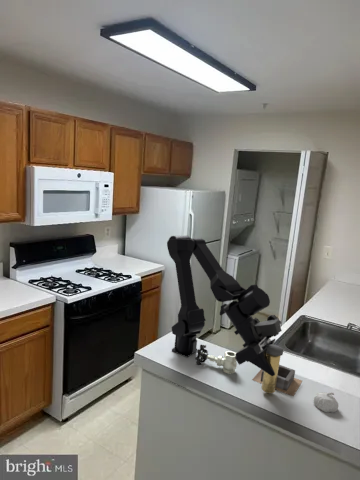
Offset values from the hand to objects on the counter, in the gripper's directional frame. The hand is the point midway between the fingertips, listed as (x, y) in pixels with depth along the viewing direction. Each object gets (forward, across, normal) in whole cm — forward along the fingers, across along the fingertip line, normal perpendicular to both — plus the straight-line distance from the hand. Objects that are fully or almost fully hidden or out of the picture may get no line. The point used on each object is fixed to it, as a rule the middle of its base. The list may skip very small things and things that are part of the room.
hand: (276, 372), depth 94 cm
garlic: (+15, +4, -3) cm, 16 cm away
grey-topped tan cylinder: (+3, 0, +5) cm, 6 cm away
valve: (-7, +3, +19) cm, 20 cm away
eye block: (+5, +8, +6) cm, 12 cm away
